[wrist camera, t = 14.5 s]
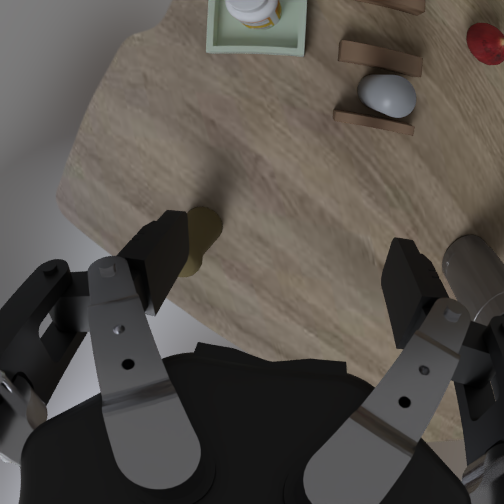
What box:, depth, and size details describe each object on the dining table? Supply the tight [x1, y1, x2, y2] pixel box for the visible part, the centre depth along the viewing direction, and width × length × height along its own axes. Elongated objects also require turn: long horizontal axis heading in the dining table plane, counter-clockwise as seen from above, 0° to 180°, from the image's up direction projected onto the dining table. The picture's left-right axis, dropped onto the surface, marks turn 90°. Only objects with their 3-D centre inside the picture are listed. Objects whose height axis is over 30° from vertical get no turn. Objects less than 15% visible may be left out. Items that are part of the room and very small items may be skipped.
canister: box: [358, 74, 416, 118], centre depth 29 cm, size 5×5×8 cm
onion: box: [466, 23, 504, 65], centre depth 22 cm, size 6×6×8 cm
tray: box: [206, 0, 307, 57], centre depth 29 cm, size 12×12×2 cm
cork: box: [178, 207, 223, 277], centre depth 42 cm, size 6×6×11 cm
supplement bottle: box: [225, 0, 282, 31], centre depth 25 cm, size 5×5×10 cm
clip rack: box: [333, 0, 425, 136], centre depth 27 cm, size 10×27×3 cm, turn 178°
